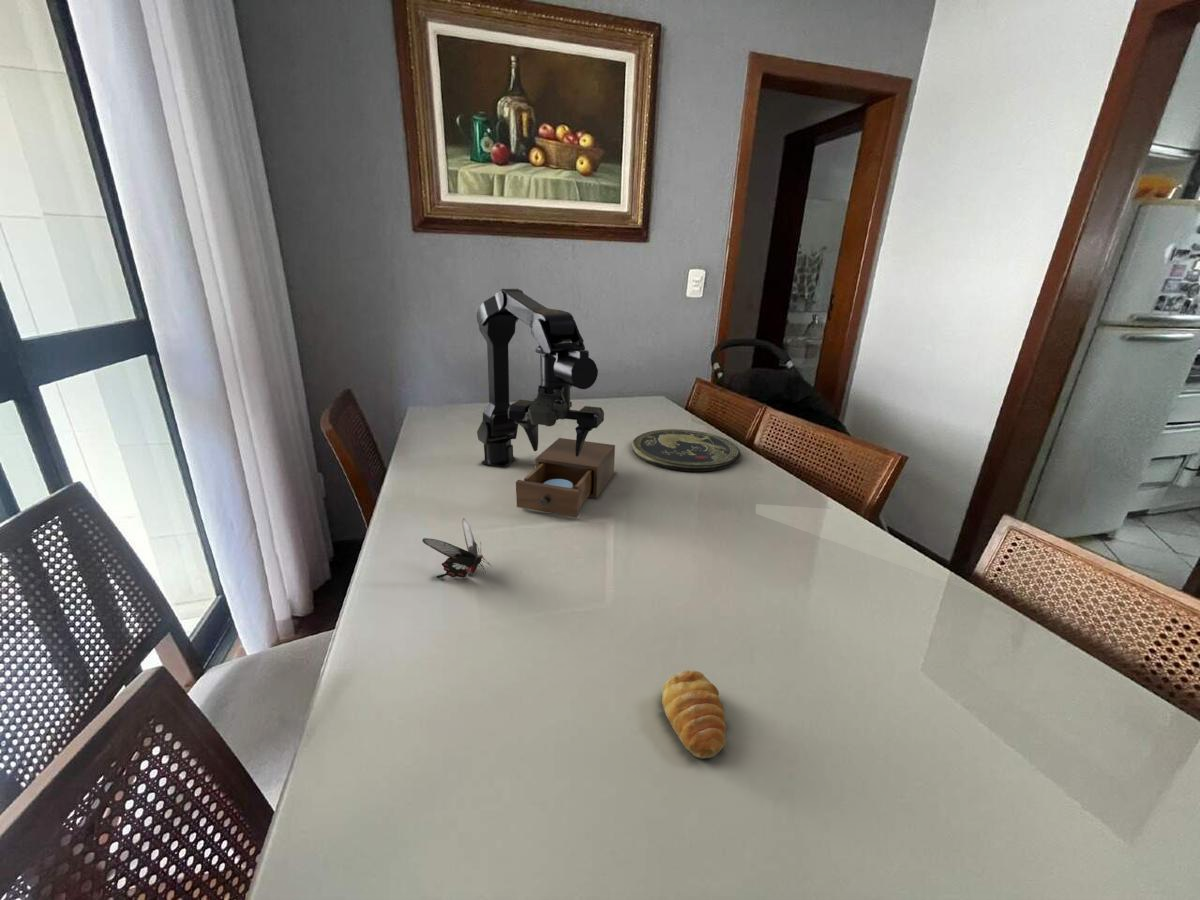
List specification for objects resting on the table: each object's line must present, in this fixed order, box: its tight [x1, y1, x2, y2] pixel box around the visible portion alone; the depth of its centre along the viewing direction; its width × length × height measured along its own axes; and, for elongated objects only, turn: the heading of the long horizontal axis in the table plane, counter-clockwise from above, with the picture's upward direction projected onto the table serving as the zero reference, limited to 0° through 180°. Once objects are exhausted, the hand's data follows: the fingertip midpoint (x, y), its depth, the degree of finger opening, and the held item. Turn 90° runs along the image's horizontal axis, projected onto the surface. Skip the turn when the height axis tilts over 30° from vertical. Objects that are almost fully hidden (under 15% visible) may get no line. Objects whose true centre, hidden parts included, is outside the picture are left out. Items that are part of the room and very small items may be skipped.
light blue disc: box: [543, 479, 573, 488], centre depth 105 cm, size 7×7×2 cm
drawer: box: [515, 462, 594, 518], centre depth 104 cm, size 15×13×6 cm
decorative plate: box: [631, 428, 741, 472], centre depth 136 cm, size 30×2×30 cm
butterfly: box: [421, 517, 491, 579], centre depth 79 cm, size 11×8×10 cm
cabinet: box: [535, 437, 616, 499], centre depth 115 cm, size 15×15×8 cm
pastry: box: [661, 670, 727, 759], centre depth 55 cm, size 9×7×4 cm
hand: (556, 453), depth 100 cm, fingers open, 9 cm apart
